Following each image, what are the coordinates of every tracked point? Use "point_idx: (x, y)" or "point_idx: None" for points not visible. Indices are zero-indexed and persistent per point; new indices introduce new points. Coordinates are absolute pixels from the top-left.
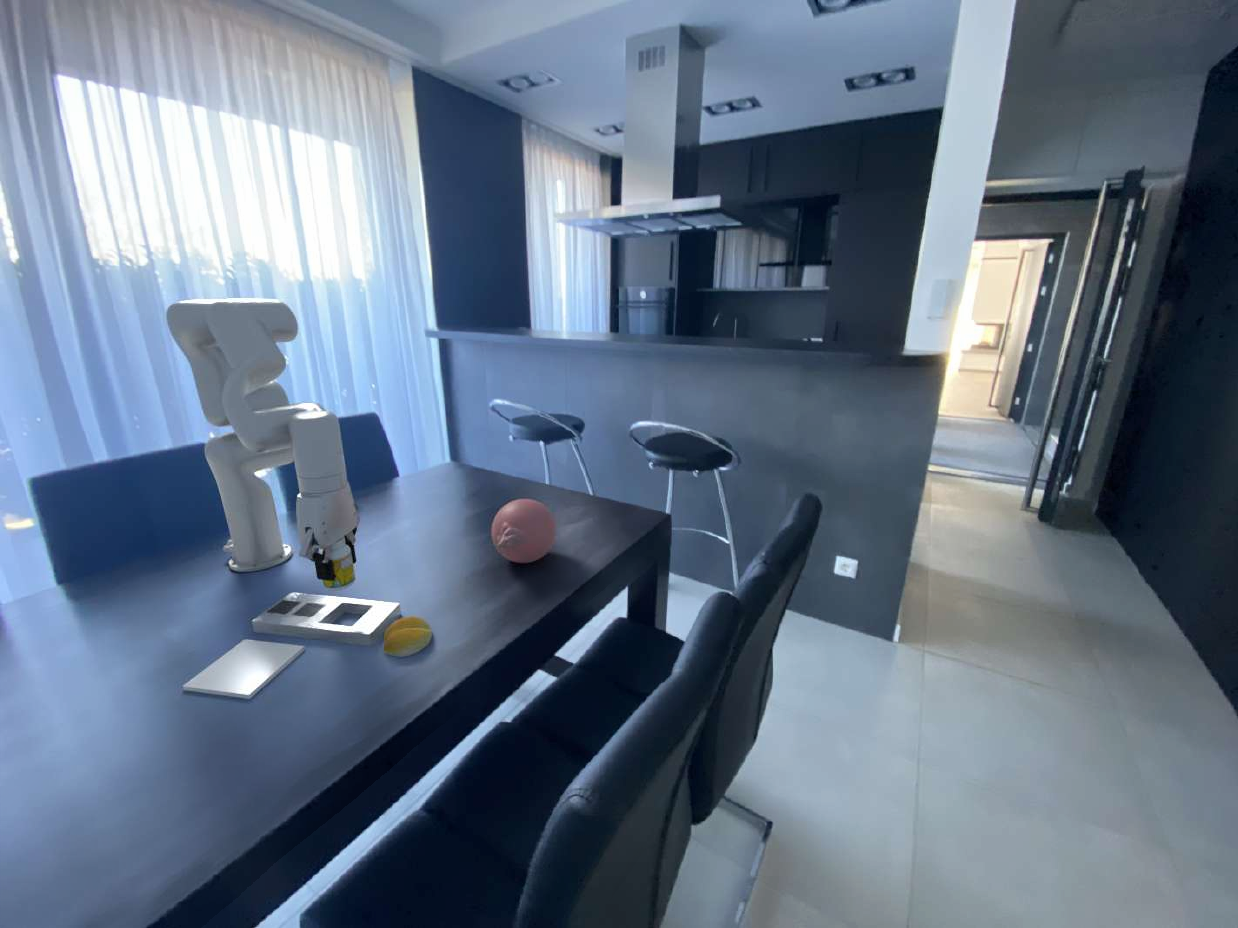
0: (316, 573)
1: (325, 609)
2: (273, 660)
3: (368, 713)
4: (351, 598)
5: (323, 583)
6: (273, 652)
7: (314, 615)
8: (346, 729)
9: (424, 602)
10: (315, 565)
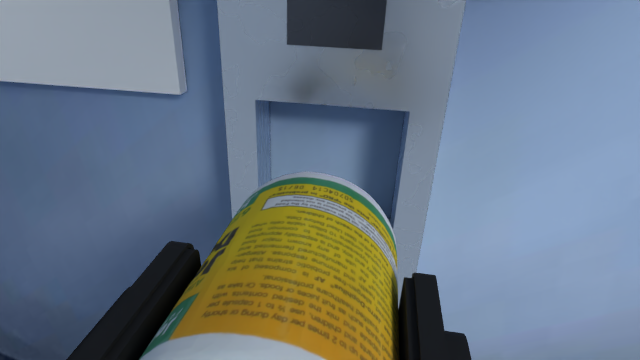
0: (151, 263)
1: (347, 71)
2: (93, 40)
3: (75, 334)
4: (439, 136)
5: (241, 206)
6: (122, 6)
7: (299, 51)
8: (32, 315)
9: (474, 323)
10: (105, 321)
